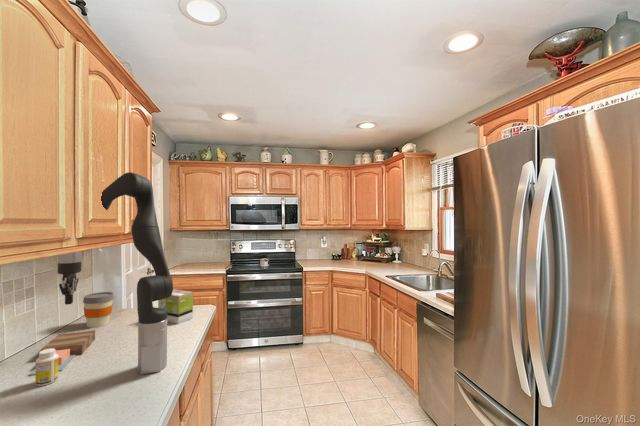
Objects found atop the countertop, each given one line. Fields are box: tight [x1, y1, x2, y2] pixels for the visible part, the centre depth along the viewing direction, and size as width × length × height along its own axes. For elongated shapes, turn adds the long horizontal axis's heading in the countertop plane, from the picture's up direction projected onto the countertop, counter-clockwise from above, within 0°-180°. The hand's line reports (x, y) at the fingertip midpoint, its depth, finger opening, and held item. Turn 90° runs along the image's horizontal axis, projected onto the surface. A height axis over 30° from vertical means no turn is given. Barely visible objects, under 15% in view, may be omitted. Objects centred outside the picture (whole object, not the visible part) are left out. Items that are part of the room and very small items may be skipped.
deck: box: [39, 329, 96, 356], centre depth 123 cm, size 16×13×4 cm
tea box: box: [157, 288, 194, 325], centre depth 160 cm, size 15×10×15 cm
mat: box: [28, 354, 77, 377], centre depth 110 cm, size 13×9×1 cm
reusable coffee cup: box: [82, 291, 115, 329], centre depth 152 cm, size 13×13×15 cm
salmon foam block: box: [55, 349, 70, 365], centre depth 112 cm, size 8×6×2 cm
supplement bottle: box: [34, 349, 59, 387], centre depth 99 cm, size 6×6×10 cm
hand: (68, 303), depth 121 cm, fingers closed
